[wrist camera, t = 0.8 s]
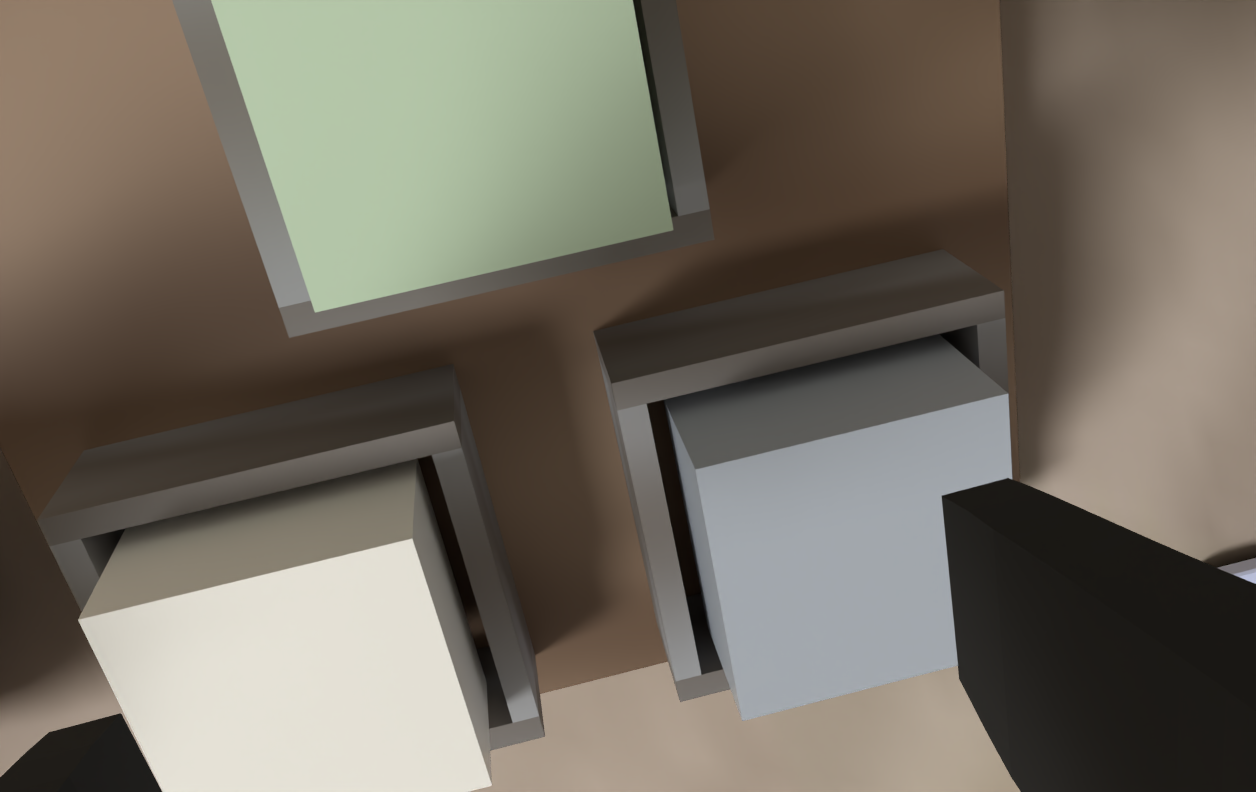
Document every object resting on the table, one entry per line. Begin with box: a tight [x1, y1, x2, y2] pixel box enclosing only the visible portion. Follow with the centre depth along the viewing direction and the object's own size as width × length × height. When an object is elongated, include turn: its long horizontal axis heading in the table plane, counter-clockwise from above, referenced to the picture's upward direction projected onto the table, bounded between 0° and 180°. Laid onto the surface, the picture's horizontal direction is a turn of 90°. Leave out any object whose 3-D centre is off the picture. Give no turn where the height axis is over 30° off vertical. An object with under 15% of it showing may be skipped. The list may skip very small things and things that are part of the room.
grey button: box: [664, 334, 1012, 721], centre depth 15 cm, size 4×4×2 cm
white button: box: [78, 459, 492, 792], centre depth 15 cm, size 4×4×2 cm
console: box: [0, 0, 1020, 751], centre depth 16 cm, size 14×15×4 cm
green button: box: [211, 0, 673, 313], centre depth 12 cm, size 4×4×2 cm
